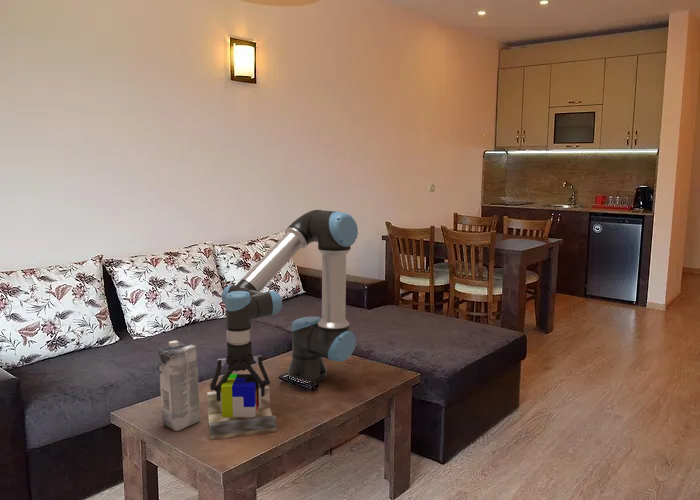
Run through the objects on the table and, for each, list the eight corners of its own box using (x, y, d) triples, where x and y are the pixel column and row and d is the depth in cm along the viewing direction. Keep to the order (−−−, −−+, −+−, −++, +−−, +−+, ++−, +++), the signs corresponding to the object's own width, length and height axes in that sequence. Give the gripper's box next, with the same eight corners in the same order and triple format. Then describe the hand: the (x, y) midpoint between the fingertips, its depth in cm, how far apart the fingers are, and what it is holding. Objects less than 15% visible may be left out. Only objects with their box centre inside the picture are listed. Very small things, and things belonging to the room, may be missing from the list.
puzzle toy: (254, 417, 180) (253, 386, 178) (222, 417, 180) (221, 386, 178) (258, 403, 190) (258, 374, 188) (228, 403, 190) (227, 374, 188)
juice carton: (203, 421, 188) (200, 341, 183) (176, 434, 179) (171, 350, 175) (186, 414, 193) (182, 335, 188) (158, 425, 185) (154, 344, 180)
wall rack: (269, 408, 197) (268, 386, 196) (276, 431, 181) (275, 407, 180) (208, 415, 192) (207, 392, 191) (210, 439, 176) (209, 414, 175)
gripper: (275, 334, 188) (276, 399, 191) (199, 340, 182) (202, 406, 185) (278, 342, 181) (279, 408, 184) (200, 348, 175) (203, 417, 178)
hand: (241, 407), depth 185 cm, fingers closed on puzzle toy, 11 cm apart
